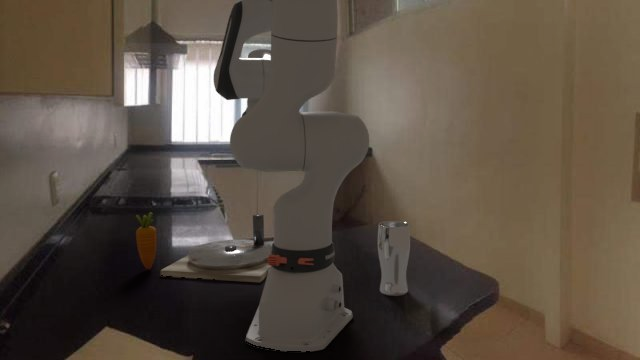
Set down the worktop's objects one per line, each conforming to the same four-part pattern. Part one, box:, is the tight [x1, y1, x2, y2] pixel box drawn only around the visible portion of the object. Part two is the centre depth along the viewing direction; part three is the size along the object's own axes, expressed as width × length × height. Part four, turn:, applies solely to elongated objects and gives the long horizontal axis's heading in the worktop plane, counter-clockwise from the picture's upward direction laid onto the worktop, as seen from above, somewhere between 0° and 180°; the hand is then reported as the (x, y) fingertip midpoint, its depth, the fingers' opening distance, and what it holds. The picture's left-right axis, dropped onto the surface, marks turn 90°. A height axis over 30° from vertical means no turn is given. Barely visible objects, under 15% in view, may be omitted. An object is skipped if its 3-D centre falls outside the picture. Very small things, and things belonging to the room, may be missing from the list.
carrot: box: [135, 211, 158, 270], centre depth 120 cm, size 5×5×15 cm
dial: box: [187, 213, 272, 270], centre depth 125 cm, size 22×22×10 cm
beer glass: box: [377, 220, 411, 297], centre depth 102 cm, size 7×7×15 cm
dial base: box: [160, 254, 272, 283], centre depth 126 cm, size 26×26×2 cm
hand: (266, 165), depth 126 cm, fingers open, 8 cm apart
